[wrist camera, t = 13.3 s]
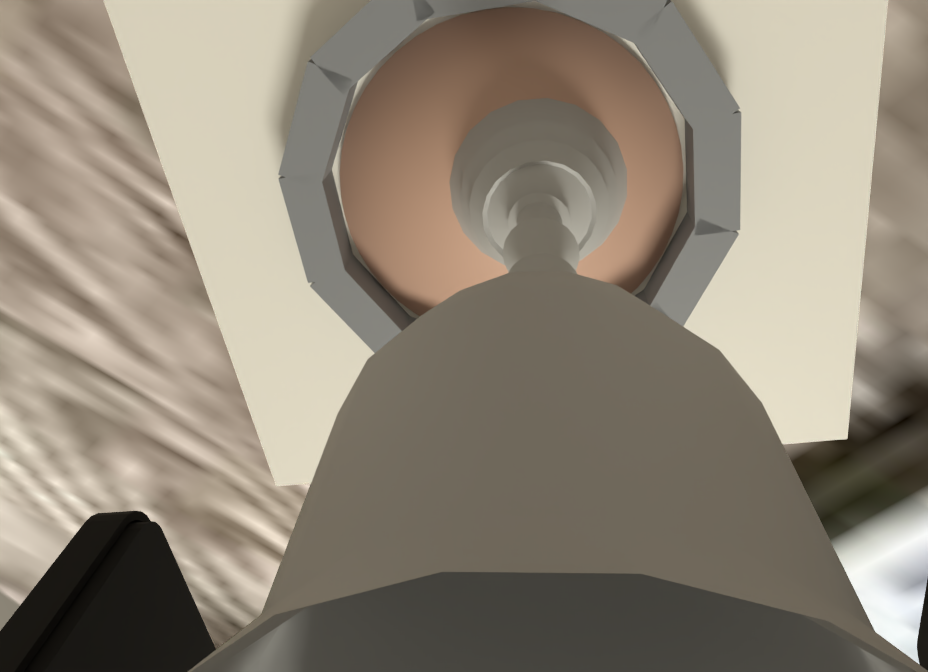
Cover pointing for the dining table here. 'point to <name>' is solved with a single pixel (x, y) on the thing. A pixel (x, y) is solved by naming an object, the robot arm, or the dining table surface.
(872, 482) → the dining table surface
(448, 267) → the seat board
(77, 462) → the dining table surface
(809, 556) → the chalice
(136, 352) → the dining table surface
